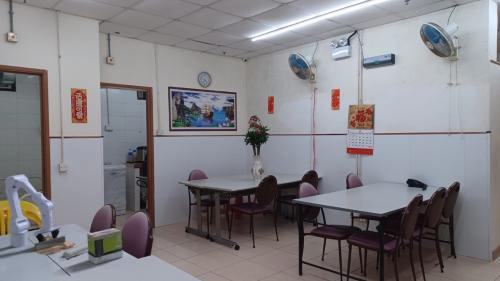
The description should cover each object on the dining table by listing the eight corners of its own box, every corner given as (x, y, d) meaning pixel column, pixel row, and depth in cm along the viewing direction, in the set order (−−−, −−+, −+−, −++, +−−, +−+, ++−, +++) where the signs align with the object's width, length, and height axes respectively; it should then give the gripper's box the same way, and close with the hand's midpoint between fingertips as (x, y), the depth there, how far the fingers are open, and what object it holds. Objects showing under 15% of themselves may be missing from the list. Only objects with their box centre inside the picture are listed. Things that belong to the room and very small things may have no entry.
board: (25, 252, 205) (25, 249, 205) (58, 242, 223) (58, 240, 223) (42, 257, 196) (42, 254, 196) (76, 246, 214) (76, 244, 213)
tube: (68, 253, 190) (103, 239, 213) (61, 249, 192) (96, 236, 215) (66, 262, 191) (101, 247, 214) (59, 258, 192) (94, 244, 216)
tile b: (62, 247, 207) (63, 242, 206) (68, 245, 211) (69, 240, 210) (66, 250, 205) (67, 246, 205) (72, 248, 209) (73, 244, 208)
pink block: (50, 247, 199) (54, 248, 197) (57, 245, 202) (60, 246, 201) (51, 254, 199) (54, 255, 197) (58, 252, 202) (61, 253, 201)
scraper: (28, 248, 207) (28, 239, 206) (56, 240, 221) (56, 232, 221) (36, 251, 202) (36, 242, 202) (65, 242, 217) (65, 234, 216)
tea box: (115, 253, 201) (114, 227, 200) (122, 257, 194) (122, 230, 193) (87, 260, 190) (86, 233, 190) (94, 265, 183) (94, 236, 183)
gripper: (38, 225, 203) (39, 249, 203) (62, 219, 215) (63, 242, 215) (31, 224, 206) (32, 247, 206) (56, 218, 219) (56, 240, 219)
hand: (47, 244), depth 211 cm, fingers open, 7 cm apart
